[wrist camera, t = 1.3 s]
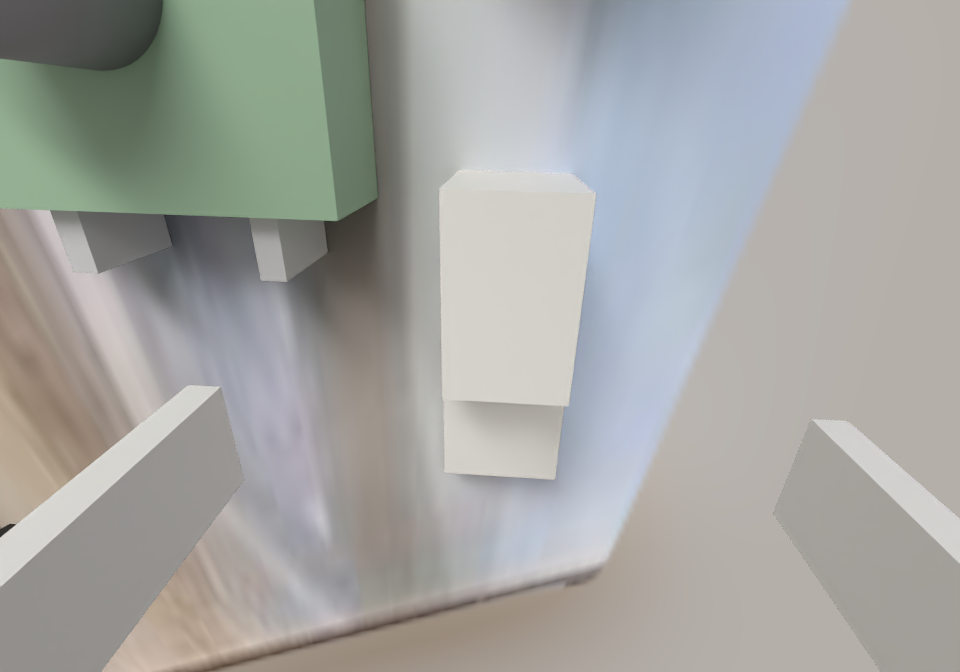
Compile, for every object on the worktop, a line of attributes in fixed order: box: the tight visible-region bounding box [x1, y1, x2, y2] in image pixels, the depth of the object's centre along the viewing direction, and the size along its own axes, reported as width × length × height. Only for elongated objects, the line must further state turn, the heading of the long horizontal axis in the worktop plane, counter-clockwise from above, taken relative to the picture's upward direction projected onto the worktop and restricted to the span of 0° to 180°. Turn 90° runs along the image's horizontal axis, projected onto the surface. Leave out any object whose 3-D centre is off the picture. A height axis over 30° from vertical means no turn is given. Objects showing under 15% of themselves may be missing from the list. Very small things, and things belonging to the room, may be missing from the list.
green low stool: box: [0, 0, 378, 282], centre depth 16 cm, size 16×17×12 cm
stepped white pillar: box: [439, 170, 596, 480], centre depth 23 cm, size 17×7×7 cm, turn 179°
